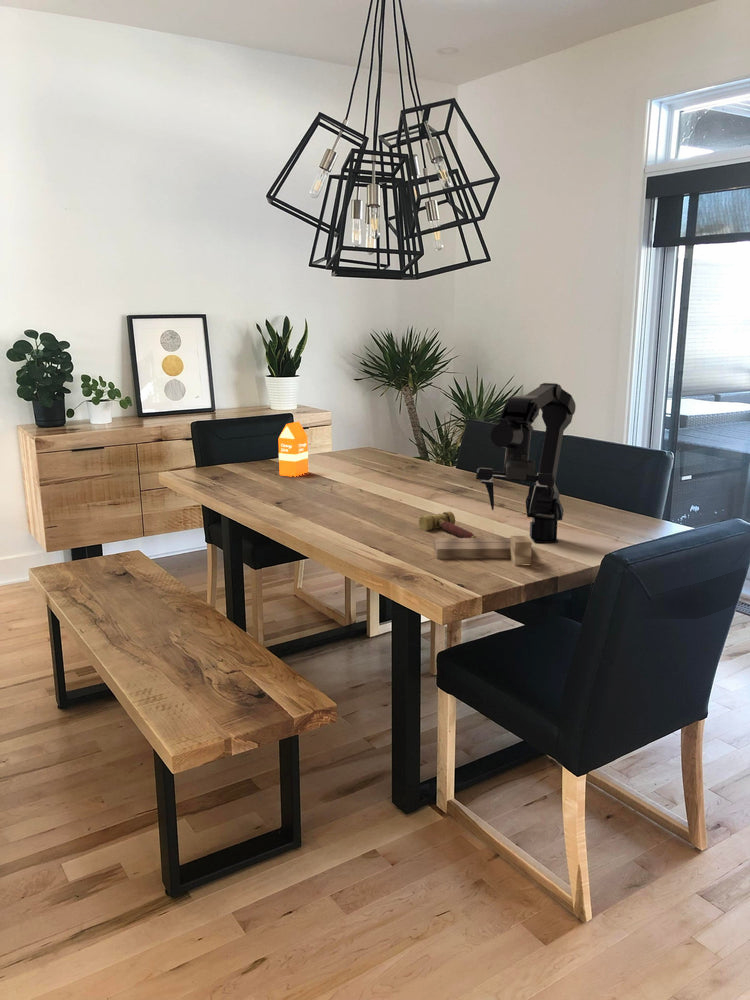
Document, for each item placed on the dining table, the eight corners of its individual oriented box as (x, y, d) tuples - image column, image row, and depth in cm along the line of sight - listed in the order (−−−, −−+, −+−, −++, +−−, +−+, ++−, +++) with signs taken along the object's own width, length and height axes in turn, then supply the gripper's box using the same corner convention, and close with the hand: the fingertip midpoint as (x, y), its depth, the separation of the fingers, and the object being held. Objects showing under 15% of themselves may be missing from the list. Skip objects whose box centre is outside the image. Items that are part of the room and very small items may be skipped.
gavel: (492, 529, 221) (462, 535, 216) (490, 545, 222) (461, 551, 217) (446, 509, 238) (418, 513, 233) (446, 524, 239) (417, 529, 234)
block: (521, 551, 211) (522, 529, 209) (530, 565, 199) (531, 542, 198) (506, 551, 211) (507, 529, 209) (514, 565, 199) (515, 542, 198)
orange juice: (279, 475, 312) (277, 423, 308) (292, 471, 320) (290, 420, 315) (296, 476, 309) (294, 424, 304) (308, 472, 316) (307, 421, 312)
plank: (524, 546, 215) (524, 537, 214) (531, 557, 205) (532, 548, 204) (434, 547, 215) (434, 538, 214) (437, 558, 205) (437, 548, 204)
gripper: (478, 445, 192) (472, 511, 193) (559, 452, 189) (552, 518, 191) (479, 445, 203) (473, 507, 204) (555, 451, 200) (548, 514, 202)
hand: (511, 511), depth 200 cm, fingers open, 9 cm apart
